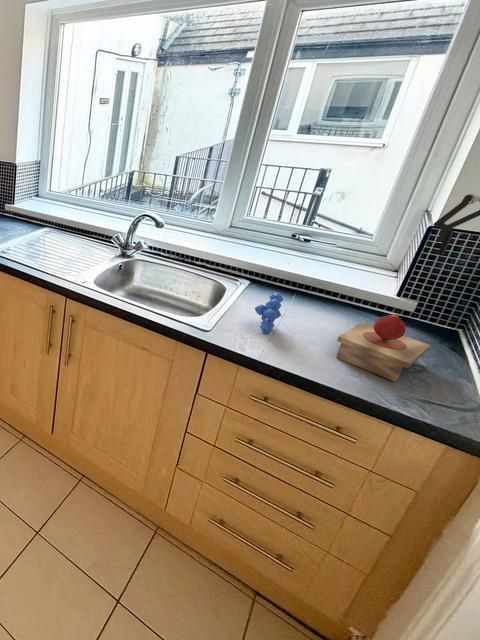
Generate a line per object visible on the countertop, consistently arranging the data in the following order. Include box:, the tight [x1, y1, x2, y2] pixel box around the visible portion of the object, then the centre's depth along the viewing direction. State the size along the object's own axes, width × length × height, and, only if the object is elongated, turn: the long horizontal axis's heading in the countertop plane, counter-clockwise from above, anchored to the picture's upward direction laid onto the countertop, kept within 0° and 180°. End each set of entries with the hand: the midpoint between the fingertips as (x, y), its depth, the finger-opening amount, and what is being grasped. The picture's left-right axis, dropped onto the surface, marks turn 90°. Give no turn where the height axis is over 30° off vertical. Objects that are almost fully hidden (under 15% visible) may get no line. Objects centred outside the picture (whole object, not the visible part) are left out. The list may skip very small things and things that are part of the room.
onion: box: [373, 313, 407, 341], centre depth 108 cm, size 6×6×8 cm
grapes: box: [254, 292, 284, 334], centre depth 124 cm, size 12×7×12 cm, turn 140°
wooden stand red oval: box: [335, 321, 432, 382], centre depth 111 cm, size 14×16×6 cm
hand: (478, 262), depth 107 cm, fingers open, 13 cm apart
